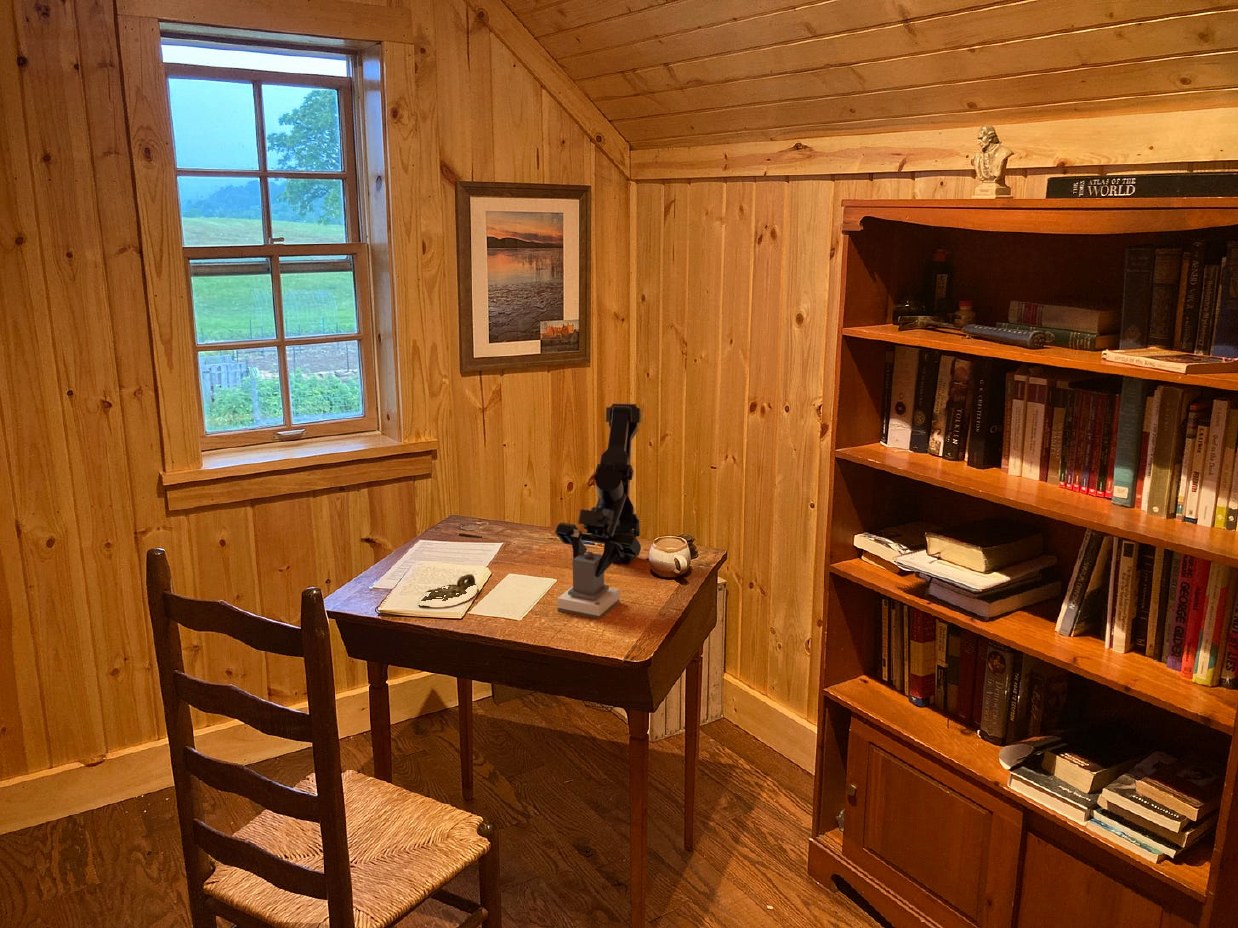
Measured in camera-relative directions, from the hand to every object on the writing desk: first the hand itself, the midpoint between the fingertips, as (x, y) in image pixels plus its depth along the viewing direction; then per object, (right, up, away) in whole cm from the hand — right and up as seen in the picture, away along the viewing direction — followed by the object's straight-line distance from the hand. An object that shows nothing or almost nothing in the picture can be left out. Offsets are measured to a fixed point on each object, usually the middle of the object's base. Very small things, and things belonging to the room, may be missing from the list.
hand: (585, 574), depth 212 cm
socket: (+1, -7, +3) cm, 8 cm away
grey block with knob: (+1, -6, +3) cm, 7 cm away
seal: (-31, -7, +8) cm, 33 cm away
